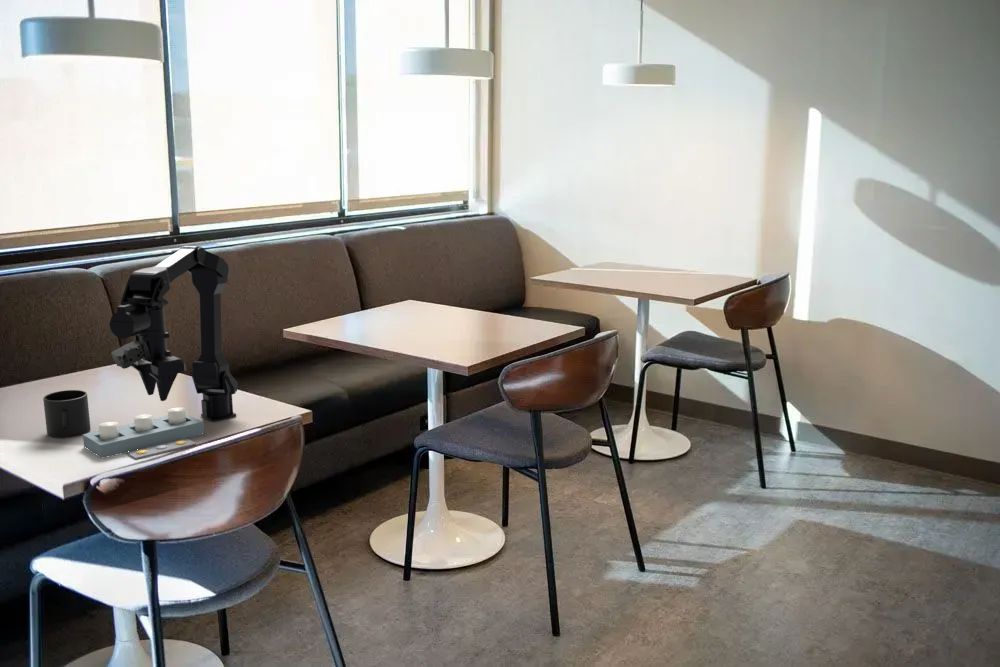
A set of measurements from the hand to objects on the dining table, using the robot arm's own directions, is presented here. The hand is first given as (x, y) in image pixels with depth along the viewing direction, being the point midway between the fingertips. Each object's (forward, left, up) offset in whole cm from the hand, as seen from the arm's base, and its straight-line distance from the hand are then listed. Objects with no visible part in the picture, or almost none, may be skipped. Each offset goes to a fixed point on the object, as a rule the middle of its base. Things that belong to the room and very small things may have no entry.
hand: (156, 397), depth 215 cm
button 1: (+8, -8, -10) cm, 15 cm away
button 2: (-8, -8, -10) cm, 15 cm away
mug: (+11, -25, -12) cm, 30 cm away
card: (0, 0, -12) cm, 12 cm away
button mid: (0, -8, -10) cm, 13 cm away
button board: (0, -8, -12) cm, 15 cm away
